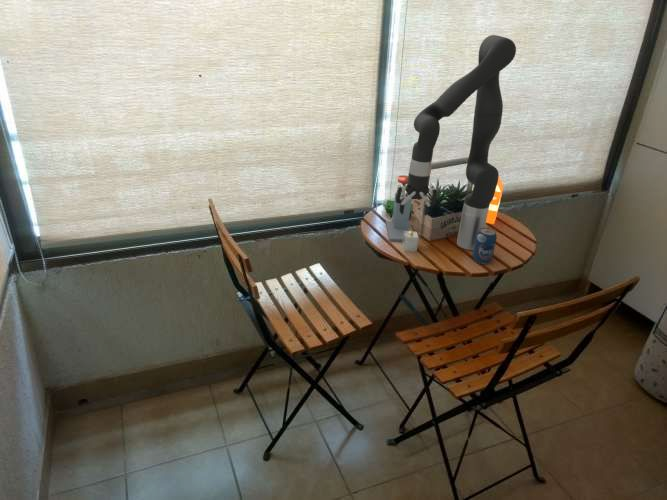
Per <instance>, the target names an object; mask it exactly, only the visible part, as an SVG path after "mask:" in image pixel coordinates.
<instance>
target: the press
mask: <svg viewBox="0 0 667 500" xmlns="http://www.w3.org/2000/svg"><path fill="white" fill-rule="evenodd" d="M396 193H397V191H395V192H394V200H393V201H394V208H393V216H392V218H391V220H386V221H385V226H386V232H387V237H388V240H389V242H393V243H396V242H397V243H402V239H403V231H413V232H414V230H413V227H412V224H411V222H410V217H409V215H410V208H411V204H412V200H413V199H411V198H410V199H409V200H408V201H407V202H406V203H405V204H404V213H403V214H401V213H400V211H399V208H400V204H399V203H396V200H395V198H396ZM406 193H407V192H405V194H406ZM402 198H403V197H400V199H402Z"/></svg>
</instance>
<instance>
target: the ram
mask: <svg viewBox="0 0 667 500" xmlns="http://www.w3.org/2000/svg"><path fill="white" fill-rule="evenodd" d="M397 182H398V183H400V186H402V187H406V186H407V182H408V175H404V174H403V175H398V177H397ZM405 193H406V190H404V191H403V193H401V196H400V197H404V195H405Z"/></svg>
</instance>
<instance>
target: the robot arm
mask: <svg viewBox="0 0 667 500" xmlns="http://www.w3.org/2000/svg"><path fill="white" fill-rule="evenodd" d="M516 53H517V47H516V44H515V42H514V41H513V40H512V39H510V38H508V37H504V36H502V35H495V34H491V35H488V36H486V37H484V39H483V40H482V42H481V43H480V46H479V49H478V61H477V62H478V65H477V66H475V68H473V69H472V70H471V71H469V72H468V73H466V74H465V75H464V76H462V77H460V78H459V79H458V80H456V81H454V82H453V83H452V84H451V85H450V86H449V87H448V88H446V90H444V92H443V93H442V94H441V95H440V96H438V98H437V99H436V100H435V101H434V102H432V103H431V104H429V105H427V106H426V107H425V108H424V109H422V110H421V111H420V112H419V113H418V114H417V115H416V117H415V118H414V121H413V127H414V129H415V131H416V132H417V133H419V134H418V139H417V141H416V142H415V143H414V144H413V147H412V152H411V153H412V154H411V159H410V163H409V168H408V175H407V176H408V182H407V184H406V187H402V186H401V184H399V185H398V186H397V189H396V198H395V197H394V199H395V200H396V203H399V204H400V208H399V211H400V213H401V214H403V213H404V204H405V203H406V202H407V201H408V200H409V199H410V198H411V199H412V200H418V201H421V200H422V201H423V202H424V203H425V204H424V208H423V215H424V216H427V215H428V214H429V213H430V207H431V206H435V205H436V202H437V201H436V200H437V192H438V191H437V188H436V187H435V186H433V187H431V188H429V186H430V185H429V183H430V178H431V173H432V161H433V155H434V148H435V146H436V144H437V141H438V138H439V135H440V130H441V126H440V120H442V119H443V118H448V117H450V116H452V115H453V114H454V113H455V112H456V111H457V109H458V108H460V106H462V105H463V104H464V103H465V101H466V100H467V99H468V98H470V96H472V95H473V94H474V93H475V92H476V95H475V96H476V97H475V107H474V114H473V121H472V122H473V124H472V134H471V142H470V143H471V144H470V150H469V155H468V159H467V164H466V166H465V167H466V169H465V176H466V179H467V181H468V182H469V183H471V184H472V185H473V189H472V192H471V193H467V194H466V195H465V197H464V201H463V206H462V211H461V216H460V217H461V218H460V223H459V228H458V229H459V230H458V233H457V240H456V244H457V246H458V247H460V248H461V249H464V250H468V251H469V250H470V251H474V247H475V242H476V237H477V233H478V232H479V231H480V229H481V228H488V226H487V223H486V220H487V215H488V210H489V206H490V202H491V201H492V199H493V197H494V194H495V190H496V187H497V183H498V178H499V177H500V174H499V170H498V168H497V167H495V166H494V165H493V164H491V163H489V152H490V151H489V150H490V147H491V144H492V142H493V140H494V139H495V138H496V136H497V134H498V132H499V131H500V128H501V124H502V118H503V111H504V110H503V108H504V107H503V106H504V104H503V97H502V92H501V87H500V86H501V85H500V73H501V71H502V70H504V69H505V68H506V67H507V66H508V65H510V64H511V63H512V61H513V60H514V58H515V56H516ZM404 190H405V193H406V194H405V195H404V197H403V198H402V199H400V196H401V193H403V191H404ZM428 193H430V195H431V196H430V200H428V198H427V196H426V195H428Z"/></svg>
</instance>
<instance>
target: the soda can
mask: <svg viewBox="0 0 667 500" xmlns="http://www.w3.org/2000/svg"><path fill="white" fill-rule="evenodd" d="M497 236H498V235H497V231H496V230H495V229H493V228H490V227H487V228H481V229H480V231H479V232H478V233H477V237H476V242H475V247H474V250H472V251H473V252H472V259H473V260H474V262H476V263H477V262H478V264H480V263H481V264H480V265H487V263H488V264H489V263H490V262H491V261H492V260H493V256H494V251H495V247H496V243H497V239H498V237H497Z"/></svg>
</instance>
